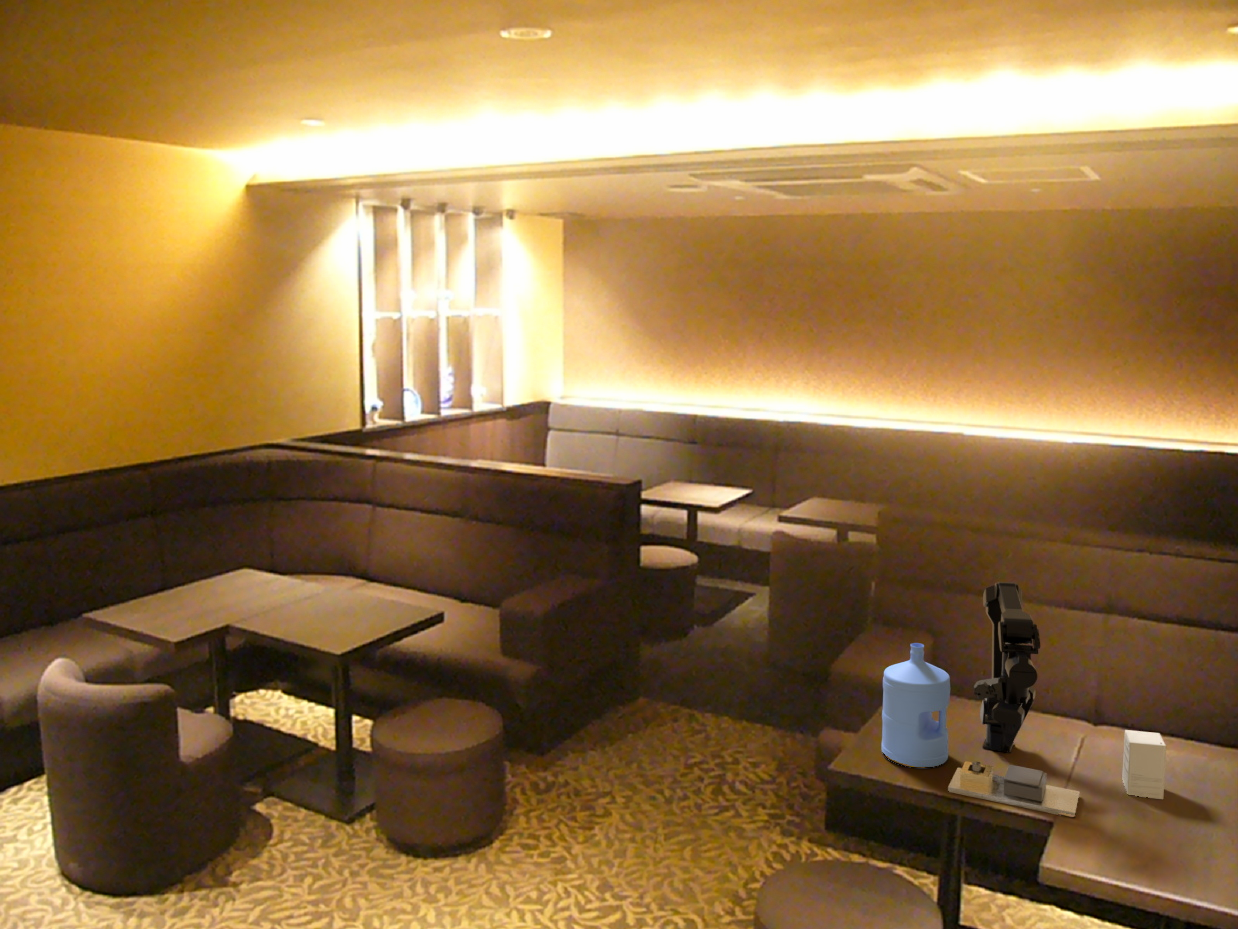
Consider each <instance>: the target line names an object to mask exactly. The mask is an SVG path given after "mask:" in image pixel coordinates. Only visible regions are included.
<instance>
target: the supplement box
mask: <svg viewBox="0 0 1238 929" xmlns="http://www.w3.org/2000/svg"><path fill="white" fill-rule="evenodd" d="M1123 737H1124V741H1123V760H1122V761H1123V762H1122V776H1121V777H1122V780H1123V781H1122V780H1121V781H1122V784H1123V783H1124V784H1123V786H1125V787H1124V789H1126V790H1125V792H1126V791H1127V792H1126V795H1127V794H1129V795H1135V796H1134V797H1137V796H1139V797H1138V798H1146V797H1148V798H1149V799H1156V800H1164V796H1165V795H1164V794H1165V792H1164V790H1165V778H1166V777H1165V776H1166V761H1167V759H1166V758H1167V744H1166V743H1165V742H1164V741H1165V740H1164V739H1163V737H1162V735H1161V733H1160V732H1149V731H1142V730H1141V731H1139V730H1131V729H1130V730H1128V729H1124V736H1123Z"/></svg>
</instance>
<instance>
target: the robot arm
mask: <svg viewBox="0 0 1238 929" xmlns="http://www.w3.org/2000/svg"><path fill="white" fill-rule="evenodd" d="M1022 594H1023V592H1022V589H1021V588H1019V584H1018V583H1016V582H1012V581H1011V582H1009V581H1007V582H1006V581H998V582H995V583H994V584H993V585H991V586H988V587H986V588H984V591H983V595H982V605H983V607H985V613H986V616H987V617H988V619H989V620H990V622H991V625H992V626H991V628H992V629H991V631H992V632H991V639H992V640H991V642H992V643H991V678H986V679H980V680H978V681H976V682H975V683H974V685H973V689H974V692H973V694H974V696H976V698H977V700H978V701H981V705H980V708H979V715H980V716H979V719H980V721H981V725H986V729H985V730H986V733H985V739H984V742H983V743H982V747H981V748H983V749H987V750H992V751H998V752H1003V753H1011V751H1012V749H1013V748H1014V744H1015V743H1014V742H1015V739H1016V737H1017V735H1018V734H1019V731H1020V729H1021V728H1022V726H1023V724H1024V722H1025V719H1026V717H1027V715H1028V713H1029V712H1030V710H1031V707H1032V705H1033V704H1034V701H1035V698H1036V687H1035V686H1034V685H1035V684H1036V683H1037V680H1038V672H1037V670H1036V667H1035V666H1034V664H1033V662H1032V658H1031V657H1032V655H1039V649H1041V638H1040V631H1039V630H1040V629H1039V628H1038V626H1037V623H1036V622H1035V623H1034V619H1033V617H1032V615H1031V614H1030V613H1028V612H1025V611H1024V609H1023V595H1022Z"/></svg>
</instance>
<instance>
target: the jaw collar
mask: <svg viewBox="0 0 1238 929" xmlns="http://www.w3.org/2000/svg"><path fill="white" fill-rule="evenodd" d="M972 762H973V761H972ZM972 762H971V761H964V763H963V766H962V767H961V768H962V769H961V773H960V784H962V785H967V786H972V787H977V788H982V789H987V790H988V789H989V786H990V784H991V781H992V776H993V775H994V774H993V773H994V772H993V771H994V770H993V769H994V766H993V765H989V764H988V765H987V764H982V763H981V772H980V773H978V772H973V771H972Z"/></svg>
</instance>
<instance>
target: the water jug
mask: <svg viewBox="0 0 1238 929" xmlns="http://www.w3.org/2000/svg"><path fill="white" fill-rule="evenodd" d="M924 648H925V645H924V644H923V643H919V642H913V643H910V652H909V653H910V658H909V660H906V661H902V662H899V663H895V664H892V665H889V666H888V667H886V668H885V669H884V671H883V678H882V691H883V693H882V694H883V695H882V711H881V718H882V719H881V721H882V733H881V737H882V738H881V753H882V752H883V753H884V754H885V755H886V756H888V757H889V758H890V759H892V760H895V761H897V762H899V763H903V764H907V765H909V766H914V767H933V768H935V767H934V766H937V767H939V765H940V766H941V764H942V765H944V764H945V763H946V762H947V760H948V759H949V729H948V728H947V715H948V714H947V712H948V711H947V710H948V709H947V708H948V707H949V705H950V695H951V681H950V680H951V677H950V675H949V673H948V672H946V671H945V670H944V669H942V668H939V667H937V666H935V665H934V664H931V663H929V662H926V661H925V660H924V655H925V651H924ZM934 712H938V721H937V720H935V719H934V717H933V713H934ZM883 753H882V754H883Z"/></svg>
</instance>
